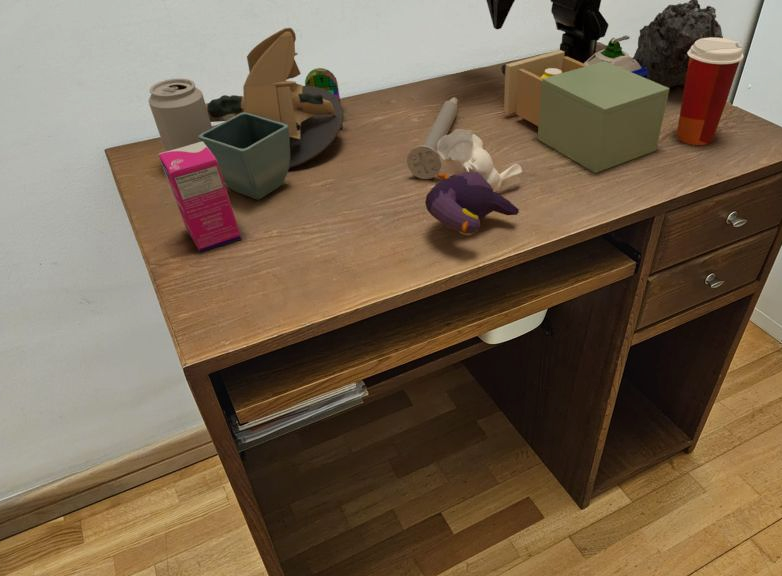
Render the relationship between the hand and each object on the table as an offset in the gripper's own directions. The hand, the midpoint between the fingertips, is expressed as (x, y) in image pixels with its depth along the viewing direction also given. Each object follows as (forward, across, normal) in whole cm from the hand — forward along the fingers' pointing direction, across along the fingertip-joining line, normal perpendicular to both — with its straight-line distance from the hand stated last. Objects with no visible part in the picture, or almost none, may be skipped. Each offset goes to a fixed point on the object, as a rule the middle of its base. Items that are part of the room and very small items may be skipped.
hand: (497, 28), depth 111 cm
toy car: (+11, +14, +14) cm, 23 cm away
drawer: (+10, +14, 0) cm, 17 cm away
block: (+10, -6, -33) cm, 35 cm away
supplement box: (+11, +18, -59) cm, 62 cm away
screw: (+9, +10, -21) cm, 25 cm away
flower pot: (+11, +10, -49) cm, 51 cm away
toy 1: (+8, -2, -41) cm, 41 cm away
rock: (+11, +17, +26) cm, 33 cm away
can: (+11, -4, -54) cm, 56 cm away
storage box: (+11, +27, 0) cm, 29 cm away
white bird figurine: (+2, +27, -26) cm, 37 cm away
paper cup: (+11, +34, +14) cm, 38 cm away
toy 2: (+7, +28, -27) cm, 39 cm away
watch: (+9, +15, 0) cm, 18 cm away
